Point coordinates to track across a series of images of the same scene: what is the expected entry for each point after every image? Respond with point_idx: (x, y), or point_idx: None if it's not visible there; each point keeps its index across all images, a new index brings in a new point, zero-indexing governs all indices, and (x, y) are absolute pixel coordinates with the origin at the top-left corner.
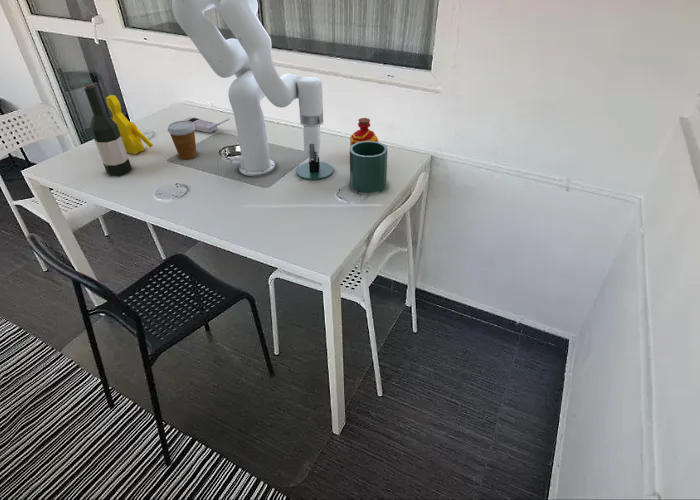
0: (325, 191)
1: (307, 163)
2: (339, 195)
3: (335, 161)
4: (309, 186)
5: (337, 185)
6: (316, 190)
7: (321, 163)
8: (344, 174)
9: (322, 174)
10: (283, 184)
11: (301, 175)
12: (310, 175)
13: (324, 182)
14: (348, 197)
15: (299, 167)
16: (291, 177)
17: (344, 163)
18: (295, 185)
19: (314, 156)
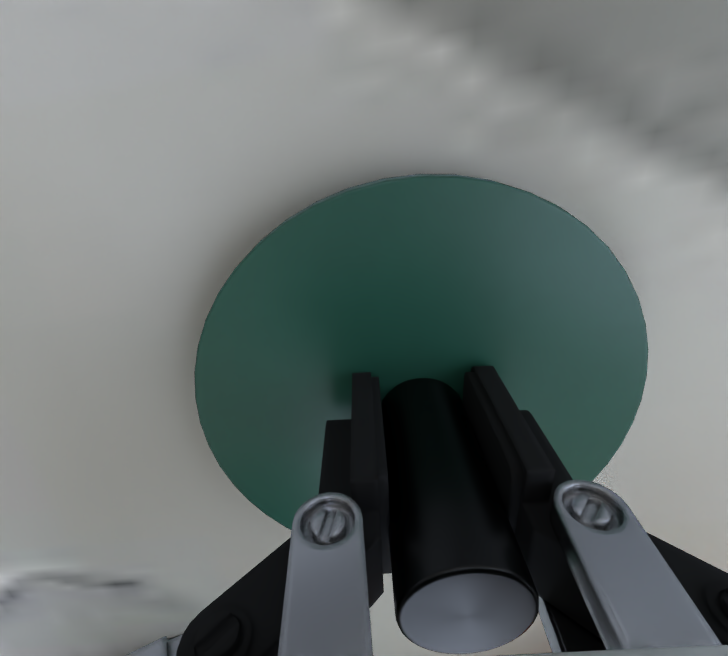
0: (63, 505)
1: (606, 311)
2: (40, 589)
3: (643, 523)
4: (109, 370)
5: (194, 567)
6: (52, 439)
7: (573, 457)
8: (386, 592)
9: (310, 490)
10: (50, 13)
11: (250, 281)
12: (270, 385)
13: (225, 483)
14: (36, 632)
15: (496, 216)
16: (289, 113)
17: None
18: (80, 211)
19: (402, 630)
